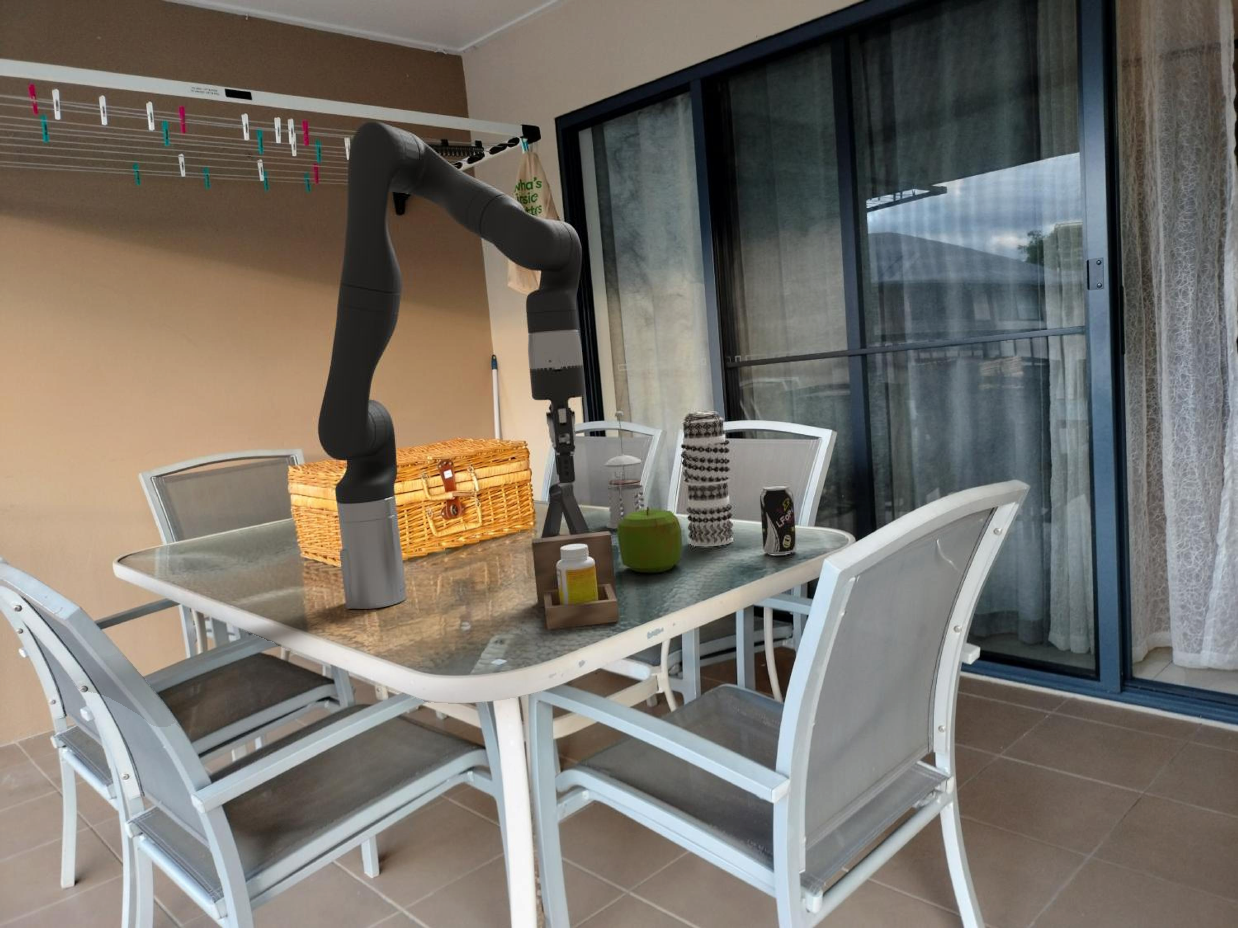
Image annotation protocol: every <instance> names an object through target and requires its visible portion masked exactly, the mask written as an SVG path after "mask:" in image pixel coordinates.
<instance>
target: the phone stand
mask: <svg viewBox="0 0 1238 928" xmlns="http://www.w3.org/2000/svg"><path fill="white" fill-rule="evenodd" d="M548 494H549V503H548V507H547V511H546V514H545V515H546V516H545V520H544V523H543V527H542V533H541V536H540V538H548V537H558V536H567V535H568V534H561V533H560V531H561V525H562V520H563V517H564V519H565V522H566V526H567V528H568V531H569V535H577V534H586V533H591V531H590V529H589V527H588V525H587V522H586V520H585V518H584V514H583V513H582V511H581V508H580V506H579V504H578V501H577V499H576V496H575V494H574V485H573V483H560V481H559V482H557V483H555V484H554V483H553V484H552V485H551V486H550V487H549V488H548Z"/></svg>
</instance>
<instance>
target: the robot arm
mask: <svg viewBox="0 0 1238 928" xmlns="http://www.w3.org/2000/svg"><path fill="white" fill-rule="evenodd" d="M347 166H348V168H347V208H346V209H347V210H346V212H347V213H346V214H347V215H346V217H347V218H346V219H347V220H346V227H345V230H346V231H345V239H344V250H343V251H344V252H343V260H342V269H341V275H340V281H339V282H340V283H339V289H338V297H337V298H338V299H337V306H336V308H337V309H336V321H335V329H334V336H333V342H332V343H333V344H332V351H331V359H330V366H329V372H328V375H327V376H328V377H327V381H326V385H325V388H324V392H323V394H324V395H323V398H322V402H321V405H320V406H321V407H320V410H319V416H318V423H317V434H318V440H319V444H320V446H321V447H322V449H323V451H324V452H325V453H326V455H328V456H329V457H330V458H332V459H334V460H337V461H346V468H345V473H344V474H343V476H342V478H341V479H340V480H339V481H338V482H337V483H336V485H335V487H334V490H335V491H334V493H335V501H336V507H337V515H338V524H339V531H340V532H339V533H340V539H341V540H340V541H341V549H340V551H339V559H340V567H341V576H342V584H343V592H344V600H345V607H346V609H347V610H350V609H358V610H361V609H362V610H370V609H378V608H384V607H388V606H389V607H390V606H393V605H396V604H399V603H401V602H403V601H405V600H406V599H407V598H408V597H407V586H406V579H405V570H404V562H403V552H402V546H401V545H402V544H401V534H400V525H399V518H398V510H397V501H396V491H395V484H396V482H397V481H396V480H397V476H398V460H397V459H398V458H397V447H396V446H397V444H396V443H397V442H396V434H395V428H394V423H393V419H392V416H391V414H390V411H389V410H388V409H387V408H386V407H385V406H384V405H383V404H382V403H381V402H379V401H377V400H375V399H370V395H371V389H372V387H371V386H372V381H373V377H374V374H375V371H376V368H377V365H378V364H379V362H380V360H381V358H382V356H383V354H384V352H385V351H386V348H387V346H388V344H389V342H390V341H391V339H392V337H393V334H394V332H395V330H396V326H397V323H398V319H399V315H400V314H399V313H400V306H401V298H402V290H403V288H402V287H403V280H402V279H403V278H402V273H401V268H400V265H399V262H398V261H399V260H398V258H397V256H396V252H395V250H394V247H393V243H392V240H391V237H390V233H389V228H388V227H389V226H388V206H389V205H388V203H389V195H390V192H393V193H398V194H399V193H401V194H402V193H404V194H408V195H411V196H414V197H418V198H421V199H424V200H427V201H430V202H431V203H434V204H436V205H438V206H439V207H441V208H443V210H445V212H446V213H447V214H448V215H449V216H450V218H452V219H453V220H454V221H455V222H456V223H458V224H459V226H462V227H463V228H464V229H466V230H467V231H469V232H471V233H473V234H474V235H476V236H478V237H479V238H482V239H483V240H484V241H486V242H488V243H490V244H491V245H492V244H493V246H495V248H496V249H497V250H498V251H499V252H501V253H502V254H503V256H505V257H506V258H507V259H508V260H509V261H511V262H512V263H514V264H516V265H518V266H520V267H521V268H523V269H527V270H530V271H535V272H540V278H539V279H540V280H539V284H538V289H534V290H533V291H531V292H529V293H528V295H527V296H526V299H525V300H526V301H525V313H526V323H527V333H528V338H527V339H528V341H527V354H528V355H527V357H528V358H527V359H528V366H529V378H530V390H531V398H532V399H533V400H534V401H550V404H549V406H548V411H549V412H548V411H547V412H545V419H546V425H547V426H548V434H549V439H550V442H551V443H552V445H551V446H552V448H553V450H554V459H555V471H556V474H557V476H558V481H559V482H560V483H572V484H573V483H574V482H575V481H576V473H575V462H574V460H575V459H574V455H575V452H576V451H575V450H576V445H575V441H576V427H575V424H576V412H575V411H574V410H573V409H571V407H569V401H570V400H571V399H576V398H582V397H583V396H584V395H585V393H586V387H585V374H584V373H585V372H584V365H583V364H584V363H583V362H584V361H583V352H582V351H583V350H582V343H581V339H580V334H579V325H578V324H579V323H578V314H577V313H578V312H577V304H576V301H577V300H576V299H577V293H578V290H579V289H578V288H579V282H580V275H581V269H582V259H583V258H582V257H583V255H582V254H583V252H582V250H583V249H582V244H581V240H580V238H579V235H578V233H577V231H576V229H575V228H574V227H573V226H572V225H571V224H569V222H565V221H563V220H556V219H549V218H543V217H538V216H535V215H533V214H531V213H528V212H527V211H526V210H525V208H524V206H523V205H522V204H521V203H520V202H519V201H518V200H516V199H515V198H513V197H512V196H510V195H508V194H506V193H505V192H503V191H502V190H499V189H497V188H496V187H493V186H491V185H490V184H488V183H486V182H484V181H481V180H480V179H477V178H476V177H474V176H471V175H470V174H468V173H466V172H463V170H461V169H459V168H457V167H456V166H454V165H453V164H451V163H450V162H448V160H446V159H445V158H443V157H442V156H441V155H440V154H439V153H437V152H436V151H435V150H434V148H432V147H431V146H429V145H428V144H427V143H425V141H423V140H422V139H421V138H419V137H418V136H417V135H415V134H414V133H412V132H410V131H407V130H404V129H401V128H399V127H395V126H392V125H389V124H386V123H383V122H380V121H375V120H369V121H367V122H364V123H362V125H360V126H359V127H358V129H356V131H355V133H354V135H353V137H352V140H351V144H350V147H349V153H348V164H347Z"/></svg>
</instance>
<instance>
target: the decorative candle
mask: <svg viewBox="0 0 1238 928" xmlns="http://www.w3.org/2000/svg"><path fill="white" fill-rule="evenodd" d="M723 420H724V418H722V417H721V415H720V414H719V413H718V412H717V411H714V410H707V411H706V410H704V411H702V410H701V411H695V412H694V411H693V412H689V413H687V414H686V415H685V417H684V419H683V420H682V421H681V423H682V427H683V428H682V430H683V437H682V444H681V445H680V448H681V449H683V451H682V452H681V453H680V457H681V458H682V459H683V460H682V461H681V465H682V466H683V467H684V468H686V469H684V471H683V473H682V475H683V476H684V477H685V478H684V480H683V481H684V485H686V486H687V493H688V498H687V507H686V512H687V513H688V516H686V518H687V520H688V521H689V522H690V523H689V524H688V525H687V530H688V531H689V533H688V535H687V536H688V538H689V539H690V541H689V542H688V543H689V545H690V544H691V545H694V546H693V547H695V546H716V545H722V544H727V543H729V542H732V541H733V539H734V538H733V535H734V531H733V530H732V529H733V526H734V523H733V522H732V521H731V520H730V519H731V518H732V516H733V514H732V513H731V512H730V511H731V510H732V508H733V506H732V505H730V502H731V501H730V496H729V491H728V490H729V489H728V482H730V478H729V477H728V476H727V473H728V472H730V471H731V468H730V467H728V466H727V465H728V464H729V463H730V459H729V458H727V457H725V456H726V455H727V454H728V453H729V452H730V449H729V448H728V447H727V446H728V445H729V444H730V441H729V440H727V439H726V434H725V432H724V431H725V429H724V421H723ZM733 542H734V541H733ZM691 545H690V546H691Z"/></svg>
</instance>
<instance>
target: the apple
mask: <svg viewBox="0 0 1238 928" xmlns="http://www.w3.org/2000/svg"><path fill="white" fill-rule="evenodd" d="M616 534H617V541H618V547H619V548H618V549H619V552H620V553H619V554H620V557H621V562H622V565H623V566H625V567H627V568H628V569H631V570H633V571H635V572H637V573H647V574H648V573H650V574H651V573H662V572H667V571H670V570H671V569H672V568H673V567H674V566H675V565H677V563H678V562H679V561H680V560H681V559H682V548H683V538H682V536H683V535H682V528H681V524H680V521H679V519H678V517H677V515H675V513H673V512H672V511H671V510H665V509H651V508H650V507H648V506H647V507H646V509H645V510H639V511H636V512H632V513H630V514H627V515H626V516H625V517H624V518H623V519H622V520H621V521H620V522H619V523H618V529H617V531H616Z"/></svg>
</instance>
